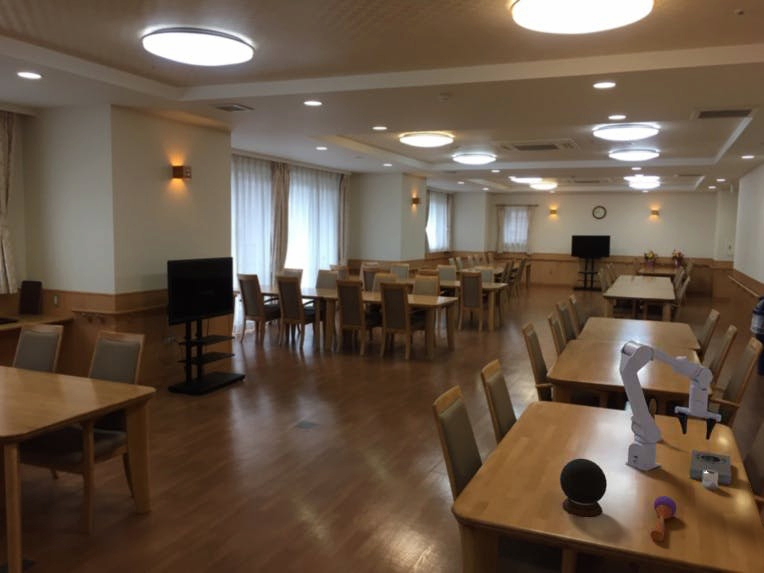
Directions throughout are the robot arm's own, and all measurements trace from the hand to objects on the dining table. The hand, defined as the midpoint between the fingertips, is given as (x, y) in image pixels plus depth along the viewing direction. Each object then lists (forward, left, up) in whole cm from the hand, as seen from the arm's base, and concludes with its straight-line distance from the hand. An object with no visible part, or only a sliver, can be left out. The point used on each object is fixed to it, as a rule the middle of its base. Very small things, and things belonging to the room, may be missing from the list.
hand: (696, 436), depth 213 cm
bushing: (-16, -13, -10) cm, 23 cm away
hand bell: (+11, +23, -10) cm, 28 cm away
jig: (-3, -7, -10) cm, 12 cm away
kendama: (-54, -19, -10) cm, 58 cm away
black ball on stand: (-64, 0, -10) cm, 64 cm away
